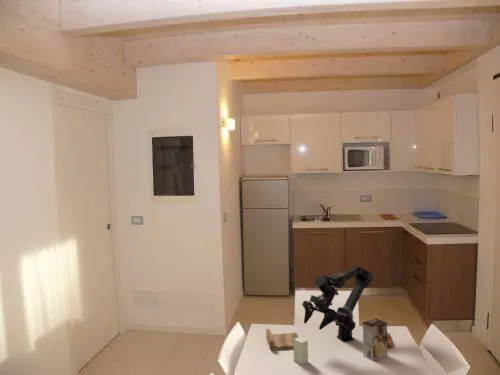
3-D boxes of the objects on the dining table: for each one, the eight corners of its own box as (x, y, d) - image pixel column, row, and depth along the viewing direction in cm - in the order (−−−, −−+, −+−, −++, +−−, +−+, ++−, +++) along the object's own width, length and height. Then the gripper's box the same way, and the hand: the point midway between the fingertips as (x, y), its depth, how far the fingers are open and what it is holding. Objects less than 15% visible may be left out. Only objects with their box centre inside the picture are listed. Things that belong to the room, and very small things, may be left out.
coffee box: (377, 351, 185) (377, 317, 184) (387, 356, 179) (387, 322, 178) (362, 355, 181) (362, 321, 180) (372, 361, 175) (372, 326, 174)
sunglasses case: (395, 348, 187) (388, 336, 187) (382, 355, 188) (375, 343, 188) (389, 332, 204) (382, 321, 205) (377, 339, 205) (370, 328, 206)
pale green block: (299, 357, 180) (299, 336, 179) (308, 361, 176) (307, 340, 176) (293, 360, 177) (293, 339, 177) (302, 364, 174) (301, 342, 173)
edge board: (296, 335, 203) (296, 327, 203) (302, 347, 189) (302, 338, 189) (266, 337, 202) (266, 329, 202) (270, 350, 188) (270, 341, 188)
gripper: (304, 284, 191) (288, 311, 185) (335, 293, 177) (319, 323, 170) (314, 296, 197) (300, 323, 190) (345, 306, 182) (330, 335, 176)
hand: (311, 326), depth 181 cm, fingers open, 9 cm apart
